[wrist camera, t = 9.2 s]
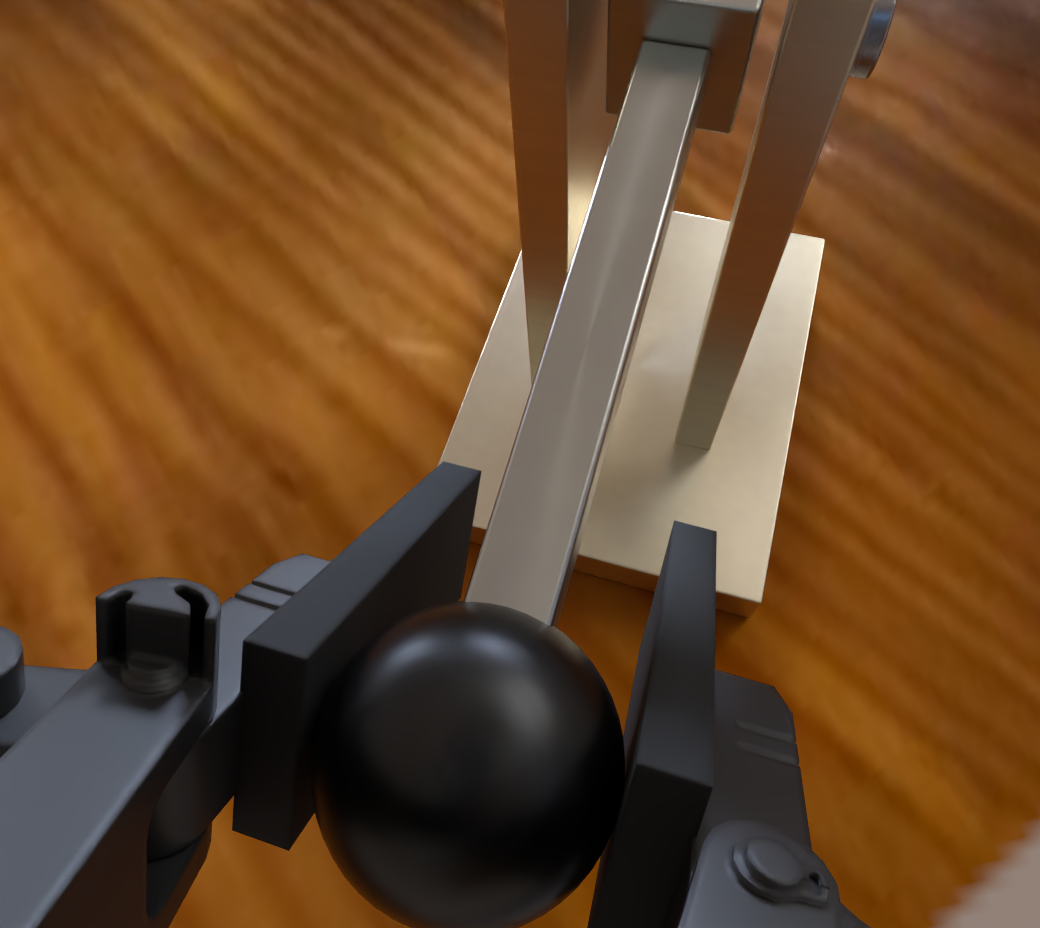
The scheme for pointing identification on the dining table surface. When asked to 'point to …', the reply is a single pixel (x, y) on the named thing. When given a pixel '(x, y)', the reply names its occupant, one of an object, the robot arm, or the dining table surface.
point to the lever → (529, 559)
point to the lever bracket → (670, 298)
